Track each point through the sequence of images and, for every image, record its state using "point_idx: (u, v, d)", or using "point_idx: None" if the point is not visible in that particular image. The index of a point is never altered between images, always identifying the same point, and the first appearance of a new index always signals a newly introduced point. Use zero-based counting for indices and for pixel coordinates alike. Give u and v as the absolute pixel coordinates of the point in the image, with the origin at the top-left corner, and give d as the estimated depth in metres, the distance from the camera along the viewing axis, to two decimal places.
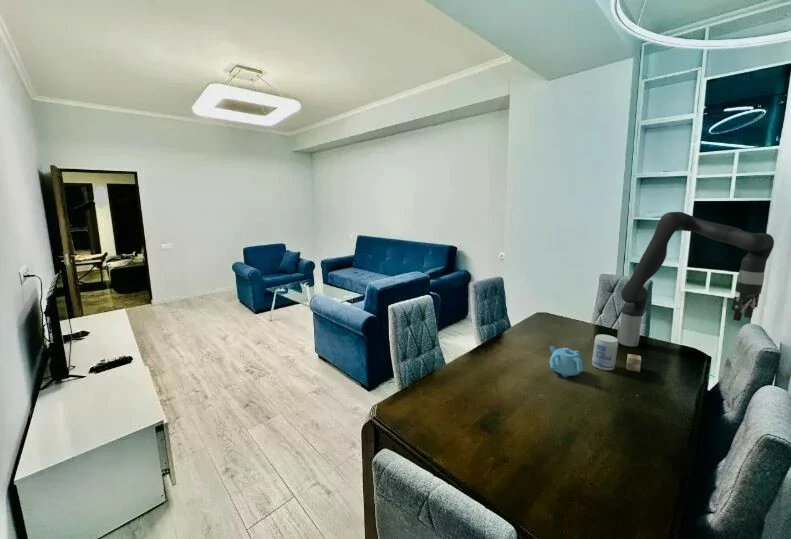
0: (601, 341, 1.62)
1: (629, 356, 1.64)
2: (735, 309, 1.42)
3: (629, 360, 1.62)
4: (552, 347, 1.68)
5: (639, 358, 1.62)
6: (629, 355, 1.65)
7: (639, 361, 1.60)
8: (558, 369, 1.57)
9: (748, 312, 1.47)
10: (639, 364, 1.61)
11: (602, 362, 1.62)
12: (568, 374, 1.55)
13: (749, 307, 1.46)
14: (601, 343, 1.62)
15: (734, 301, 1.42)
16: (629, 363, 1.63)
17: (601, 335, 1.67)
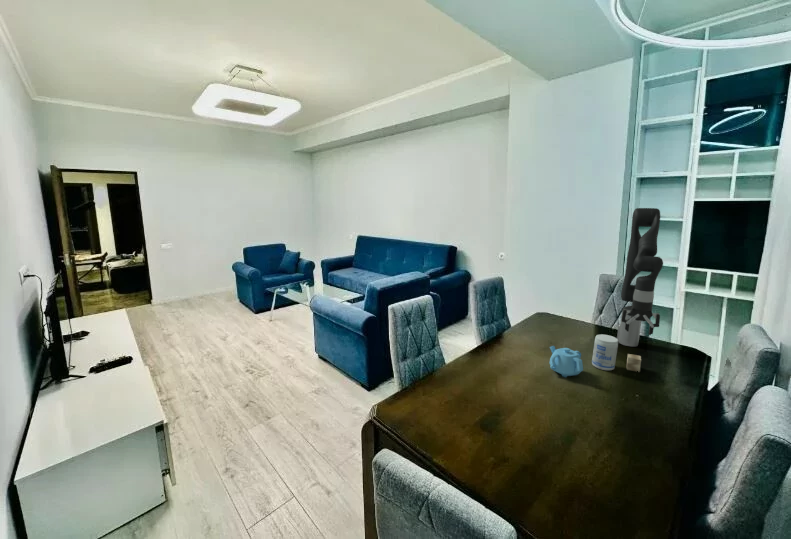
0: (601, 341, 1.62)
1: (629, 356, 1.64)
2: (658, 325, 1.56)
3: (629, 360, 1.62)
4: (552, 347, 1.68)
5: (639, 358, 1.62)
6: (629, 355, 1.65)
7: (639, 361, 1.60)
8: (558, 369, 1.57)
9: (628, 326, 1.62)
10: (639, 364, 1.61)
11: (602, 362, 1.62)
12: (568, 374, 1.55)
13: None
14: (601, 343, 1.62)
15: None
16: (629, 363, 1.63)
17: (601, 335, 1.67)
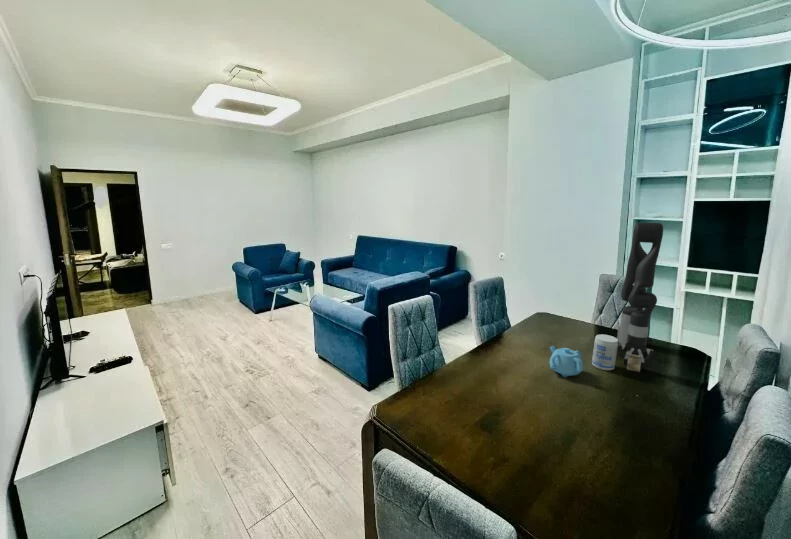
0: (601, 341, 1.62)
1: (629, 356, 1.64)
2: None
3: (629, 360, 1.62)
4: (552, 347, 1.68)
5: (639, 358, 1.62)
6: None
7: (639, 361, 1.60)
8: (558, 369, 1.57)
9: None
10: (639, 364, 1.61)
11: (602, 362, 1.62)
12: (568, 374, 1.55)
13: None
14: (601, 343, 1.62)
15: None
16: (629, 363, 1.63)
17: (601, 335, 1.67)
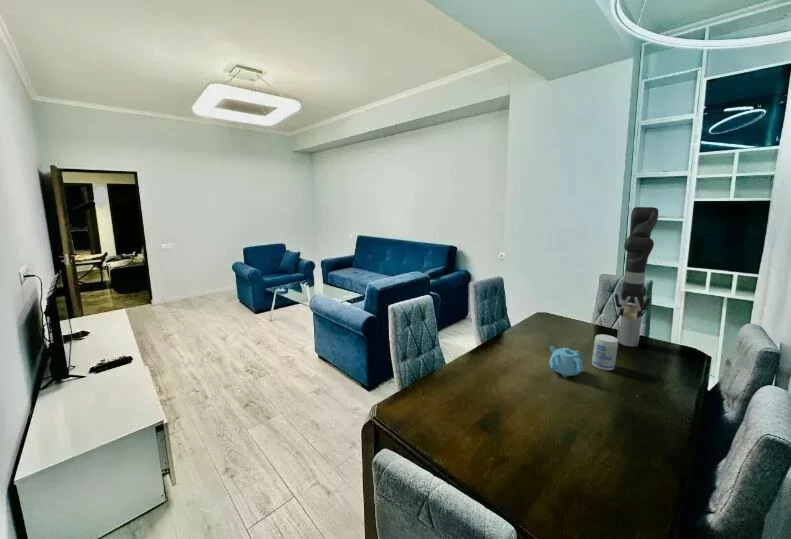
0: (601, 341, 1.62)
1: (625, 305, 1.59)
2: None
3: (625, 309, 1.58)
4: (552, 347, 1.68)
5: (636, 307, 1.57)
6: None
7: (636, 309, 1.56)
8: (558, 369, 1.57)
9: (623, 311, 1.61)
10: (636, 312, 1.56)
11: (602, 362, 1.62)
12: (568, 374, 1.55)
13: (623, 306, 1.60)
14: (601, 343, 1.62)
15: None
16: (625, 312, 1.58)
17: (601, 335, 1.67)
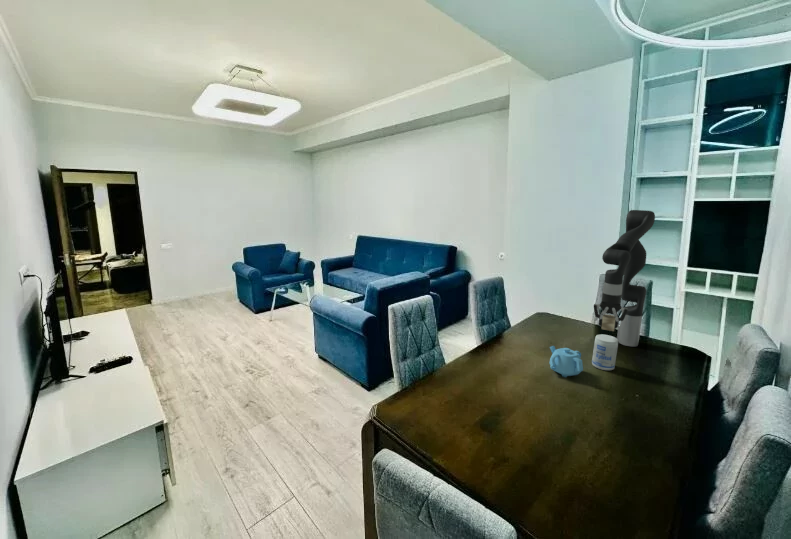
0: (601, 341, 1.62)
1: (604, 316, 1.62)
2: None
3: (604, 319, 1.61)
4: (552, 347, 1.68)
5: (613, 317, 1.60)
6: (604, 315, 1.63)
7: (613, 320, 1.59)
8: (558, 369, 1.57)
9: None
10: (613, 323, 1.59)
11: (602, 362, 1.62)
12: (568, 374, 1.55)
13: None
14: (601, 343, 1.62)
15: None
16: (604, 322, 1.61)
17: (601, 335, 1.67)
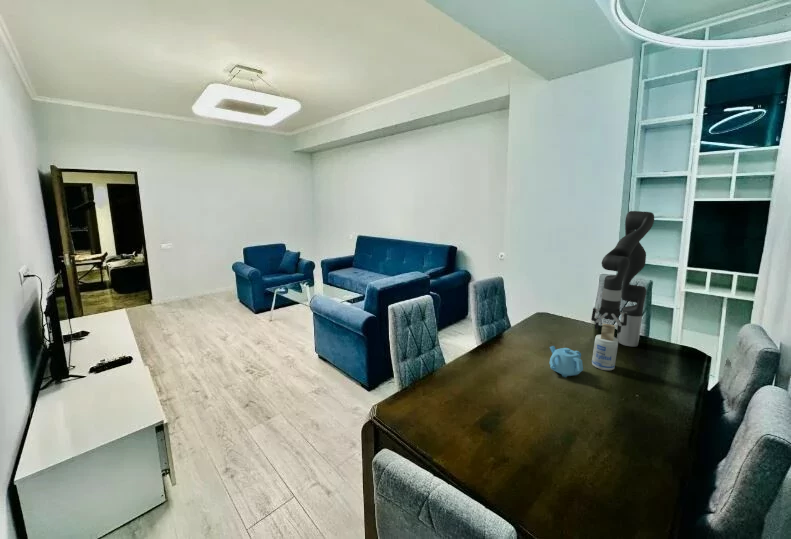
0: (601, 341, 1.62)
1: (603, 325, 1.63)
2: None
3: (603, 329, 1.62)
4: (552, 347, 1.68)
5: (613, 327, 1.61)
6: (603, 324, 1.64)
7: (613, 330, 1.60)
8: (558, 369, 1.57)
9: None
10: (613, 333, 1.60)
11: (602, 362, 1.62)
12: (568, 374, 1.55)
13: None
14: (601, 343, 1.62)
15: (626, 317, 1.57)
16: (603, 332, 1.62)
17: None
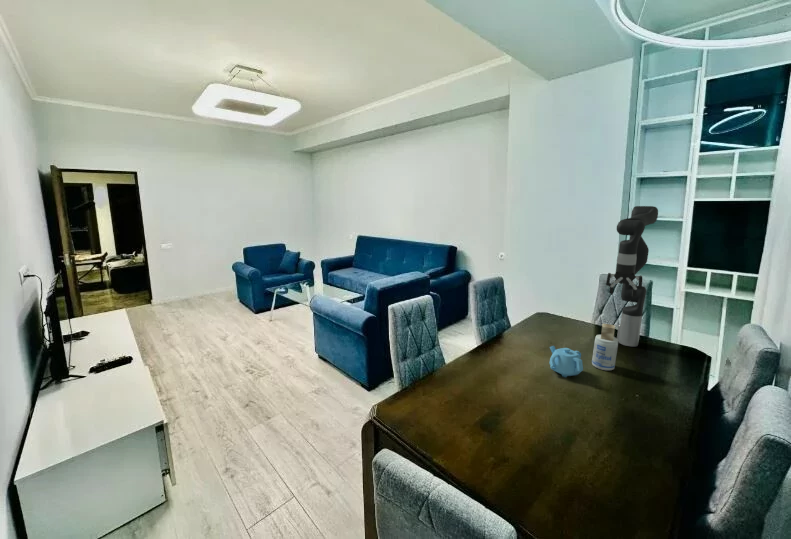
0: (601, 341, 1.62)
1: (603, 325, 1.63)
2: None
3: (603, 329, 1.62)
4: (552, 347, 1.68)
5: (613, 327, 1.61)
6: (603, 324, 1.64)
7: (613, 330, 1.60)
8: (558, 369, 1.57)
9: None
10: (613, 333, 1.60)
11: (602, 362, 1.62)
12: (568, 374, 1.55)
13: (613, 285, 1.67)
14: (601, 343, 1.62)
15: None
16: (603, 332, 1.62)
17: None
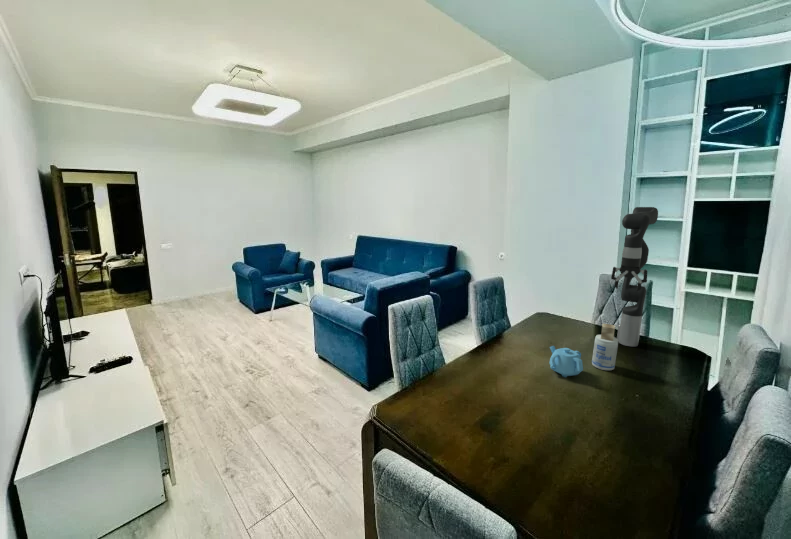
0: (601, 341, 1.62)
1: (603, 325, 1.63)
2: None
3: (603, 329, 1.62)
4: (552, 347, 1.68)
5: (613, 327, 1.61)
6: (603, 324, 1.64)
7: (613, 330, 1.60)
8: (558, 369, 1.57)
9: None
10: (613, 333, 1.60)
11: (602, 362, 1.62)
12: (568, 374, 1.55)
13: (618, 279, 1.69)
14: (601, 343, 1.62)
15: None
16: (603, 332, 1.62)
17: None
